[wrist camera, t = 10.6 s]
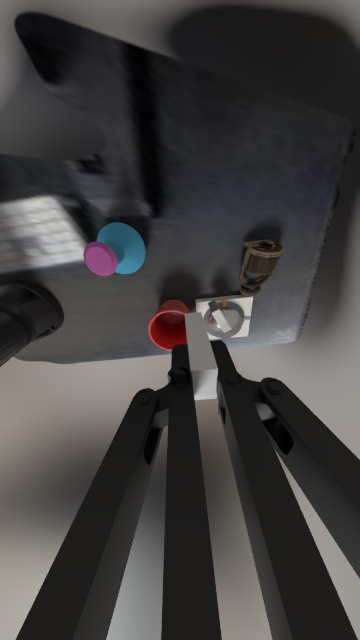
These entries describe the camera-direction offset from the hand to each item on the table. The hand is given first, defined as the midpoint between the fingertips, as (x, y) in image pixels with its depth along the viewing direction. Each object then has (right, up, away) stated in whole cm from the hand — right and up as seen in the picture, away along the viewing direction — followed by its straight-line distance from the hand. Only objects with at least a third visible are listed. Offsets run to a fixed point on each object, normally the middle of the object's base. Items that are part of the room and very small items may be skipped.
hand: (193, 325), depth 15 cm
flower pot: (-3, +3, +29) cm, 29 cm away
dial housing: (+10, +1, +29) cm, 31 cm away
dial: (+9, +2, +26) cm, 28 cm away
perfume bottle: (-13, +17, +20) cm, 29 cm away
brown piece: (+15, +13, +23) cm, 30 cm away
